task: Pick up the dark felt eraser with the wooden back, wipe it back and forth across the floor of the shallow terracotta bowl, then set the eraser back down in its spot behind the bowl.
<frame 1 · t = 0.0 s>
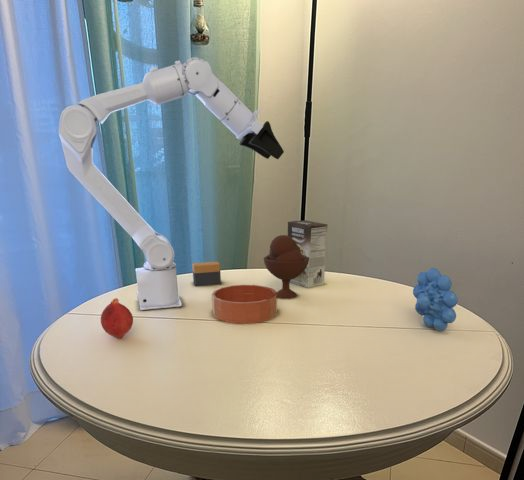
hand: (275, 155, 102), 32 cm above the table, tool tilted 50°, fingers open, 7 cm apart
ice cream bowl: (285, 296, 114), on the table
onion: (119, 339, 88), on the table
coffee box: (305, 283, 125), on the table
eraser: (207, 283, 124), on the table
grapes: (426, 328, 92), on the table
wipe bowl: (245, 312, 101), on the table
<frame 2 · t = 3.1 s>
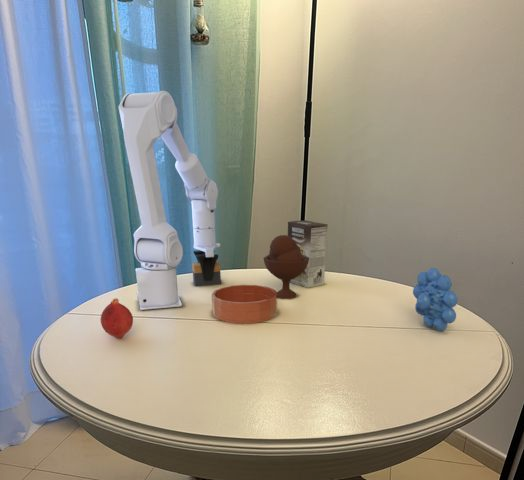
hand: (206, 278, 124), 1 cm above the table, tool pointing down, fingers closed on eraser, 3 cm apart
eraser: (207, 283, 124), on the table, touching gripper
everything else where it was.
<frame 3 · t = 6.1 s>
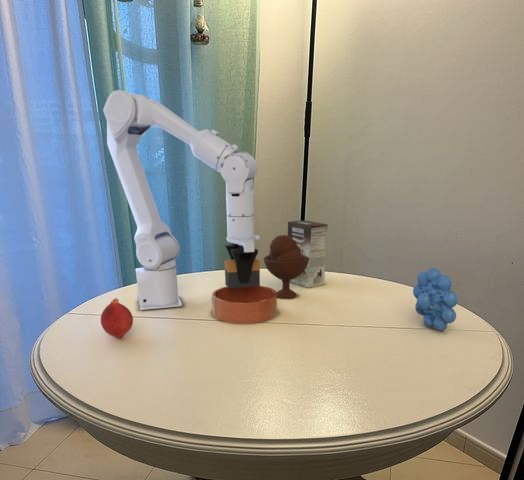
hand: (241, 279, 100), 7 cm above the table, tool pointing down, fingers closed on eraser, 3 cm apart
eraser: (242, 285, 100), point 6 cm above the table, touching gripper
everything else where it was.
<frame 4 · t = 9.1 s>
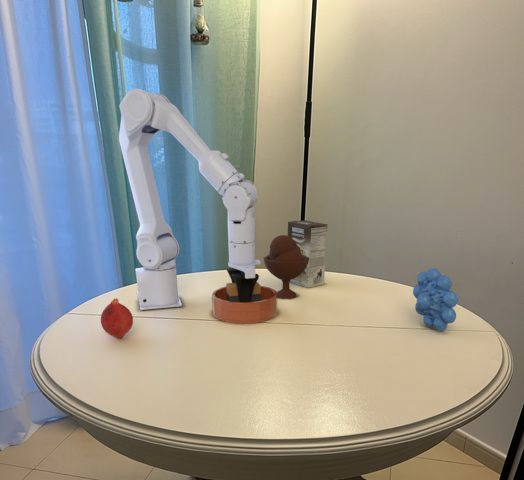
hand: (243, 302, 102), 2 cm above the table, tool pointing down, fingers closed on eraser, 3 cm apart
eraser: (243, 307, 103), point 1 cm above the table, touching gripper
everything else where it was.
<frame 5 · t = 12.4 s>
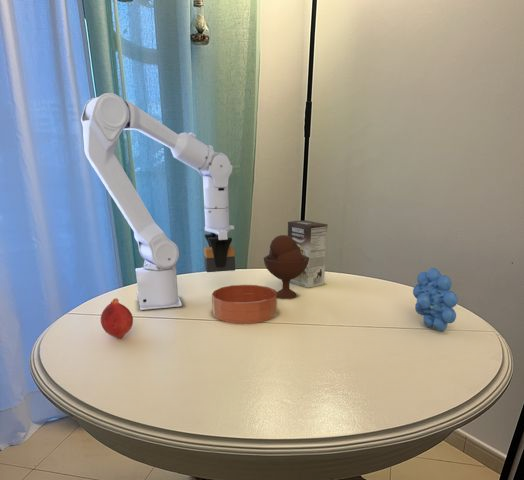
hand: (219, 264, 112), 7 cm above the table, tool pointing down, fingers closed on eraser, 3 cm apart
eraser: (220, 269, 113), point 6 cm above the table, touching gripper
everything else where it was.
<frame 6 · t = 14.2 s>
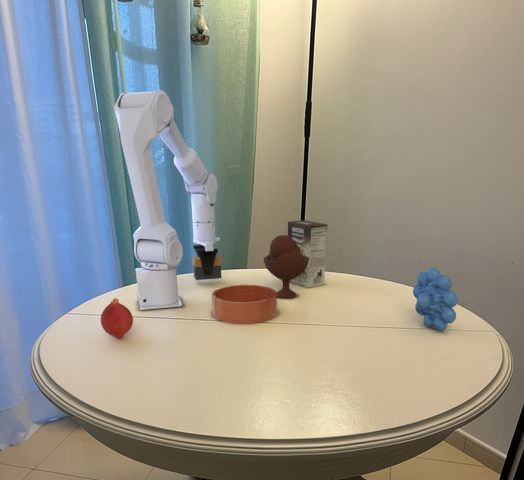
hand: (206, 273, 123), 3 cm above the table, tool pointing down, fingers closed on eraser, 3 cm apart
eraser: (207, 277, 124), point 2 cm above the table, touching gripper
everything else where it was.
when the fingers open (1 cm above the table, at t = 15.1 s): eraser stays where it is, on the table.
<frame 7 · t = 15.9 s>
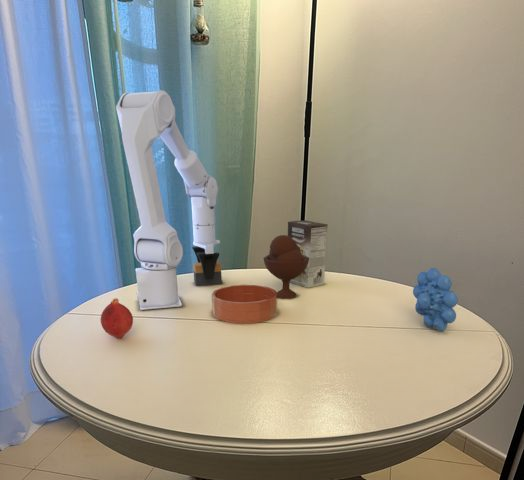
hand: (206, 275, 123), 2 cm above the table, tool pointing down, fingers open, 7 cm apart
eraser: (208, 283, 124), on the table
everything else where it was.
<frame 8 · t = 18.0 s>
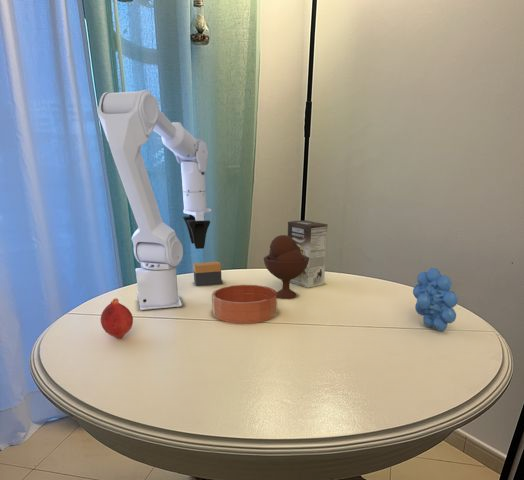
hand: (197, 245, 120), 10 cm above the table, tool pointing down, fingers open, 7 cm apart
nothing on the table moved.
at the end: eraser inside the target area on the table beside the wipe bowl (0.3 cm from its centre), on the table; eraser tilted 0°; the gripper is holding nothing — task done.
